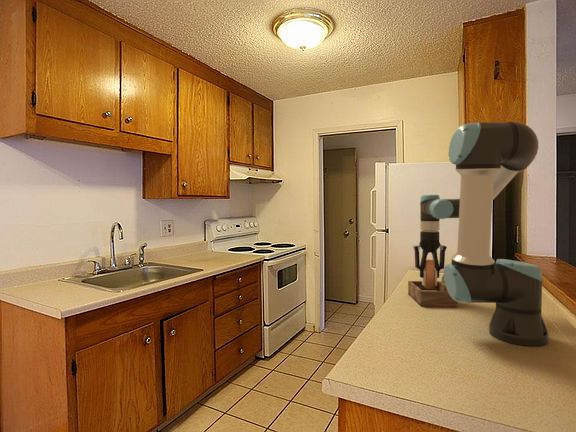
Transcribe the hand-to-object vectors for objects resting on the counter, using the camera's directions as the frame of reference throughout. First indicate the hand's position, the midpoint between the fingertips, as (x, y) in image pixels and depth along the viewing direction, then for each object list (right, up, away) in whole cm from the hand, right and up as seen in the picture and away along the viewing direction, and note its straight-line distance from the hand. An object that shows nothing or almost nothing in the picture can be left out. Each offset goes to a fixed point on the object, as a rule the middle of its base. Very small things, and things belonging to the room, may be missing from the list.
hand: (429, 285), depth 144 cm
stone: (+18, -6, +13) cm, 23 cm away
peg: (0, -1, 0) cm, 1 cm away
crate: (0, -6, -2) cm, 6 cm away
